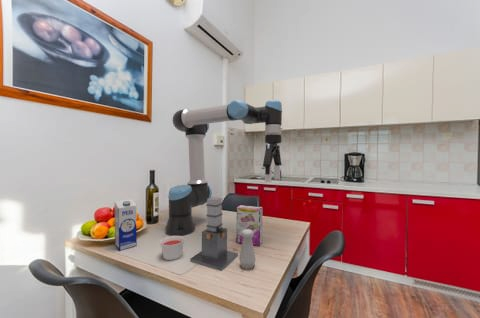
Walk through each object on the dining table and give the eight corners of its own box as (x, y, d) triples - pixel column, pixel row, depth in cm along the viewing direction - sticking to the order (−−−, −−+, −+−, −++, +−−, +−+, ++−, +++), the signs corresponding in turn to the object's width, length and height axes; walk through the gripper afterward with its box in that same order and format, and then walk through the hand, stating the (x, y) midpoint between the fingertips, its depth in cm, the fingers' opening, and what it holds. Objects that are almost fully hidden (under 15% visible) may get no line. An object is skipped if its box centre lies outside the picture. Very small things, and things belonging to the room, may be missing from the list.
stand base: (190, 261, 76) (189, 229, 76) (209, 248, 87) (209, 220, 87) (221, 271, 70) (221, 235, 70) (237, 255, 80) (237, 225, 80)
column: (206, 256, 77) (206, 199, 77) (213, 251, 81) (213, 196, 81) (216, 259, 75) (216, 200, 75) (222, 253, 79) (222, 197, 79)
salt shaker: (238, 262, 76) (238, 227, 75) (254, 261, 76) (254, 227, 76) (240, 271, 70) (240, 233, 70) (256, 270, 70) (256, 233, 70)
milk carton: (132, 241, 94) (131, 198, 94) (137, 245, 89) (136, 200, 89) (114, 246, 89) (114, 200, 89) (118, 251, 84) (118, 203, 84)
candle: (165, 250, 85) (165, 235, 85) (187, 250, 85) (187, 235, 85) (156, 261, 76) (156, 245, 76) (180, 262, 76) (180, 245, 76)
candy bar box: (236, 243, 92) (236, 207, 92) (239, 239, 97) (239, 204, 96) (260, 247, 88) (260, 209, 88) (262, 242, 93) (262, 206, 93)
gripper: (273, 131, 82) (272, 184, 82) (287, 136, 104) (287, 177, 104) (255, 132, 85) (255, 182, 85) (273, 137, 107) (272, 177, 108)
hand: (272, 180), depth 95 cm, fingers open, 13 cm apart
